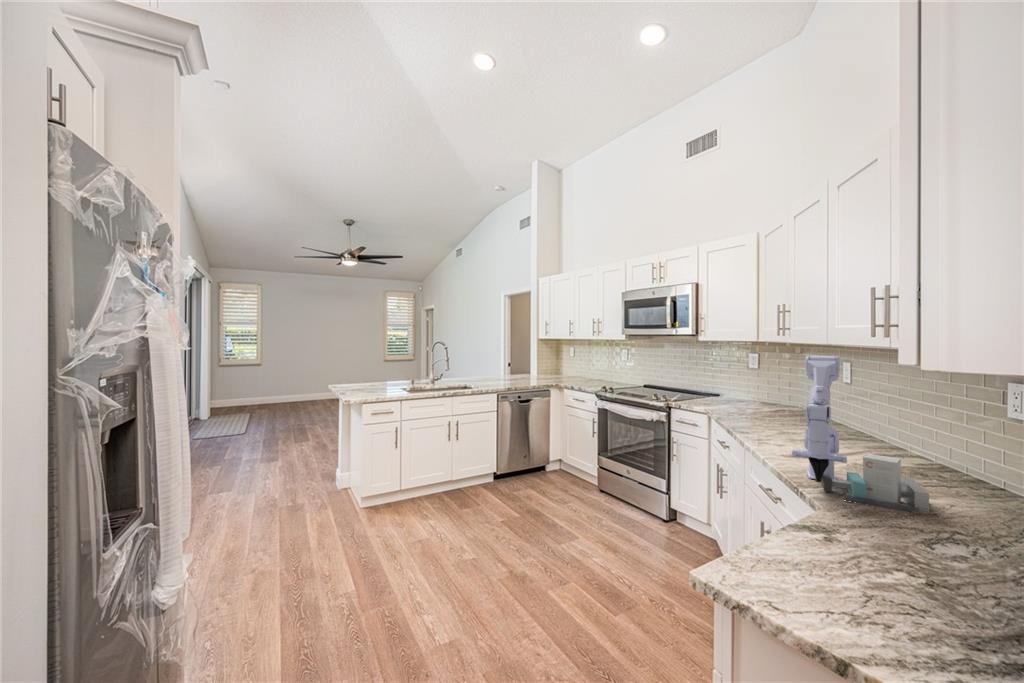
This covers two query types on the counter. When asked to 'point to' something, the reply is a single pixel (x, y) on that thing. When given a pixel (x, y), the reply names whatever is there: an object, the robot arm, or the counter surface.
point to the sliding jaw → (846, 484)
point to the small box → (882, 478)
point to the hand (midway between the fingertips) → (818, 481)
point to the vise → (909, 493)
